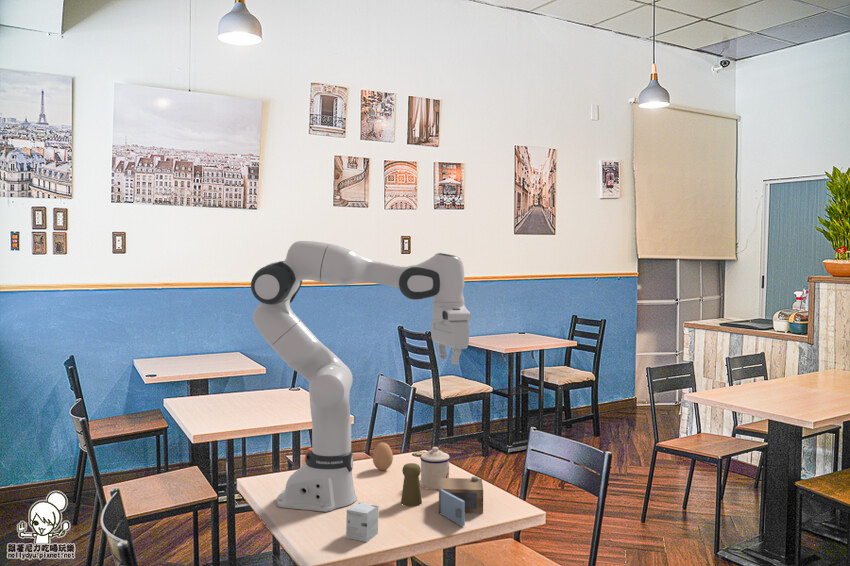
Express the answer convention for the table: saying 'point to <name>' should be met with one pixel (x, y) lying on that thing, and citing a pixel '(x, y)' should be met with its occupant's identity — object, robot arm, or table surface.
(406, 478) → the olive green pepper mill
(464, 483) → the case
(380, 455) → the egg
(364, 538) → the skincare box
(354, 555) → the table surface
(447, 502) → the door
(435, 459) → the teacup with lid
